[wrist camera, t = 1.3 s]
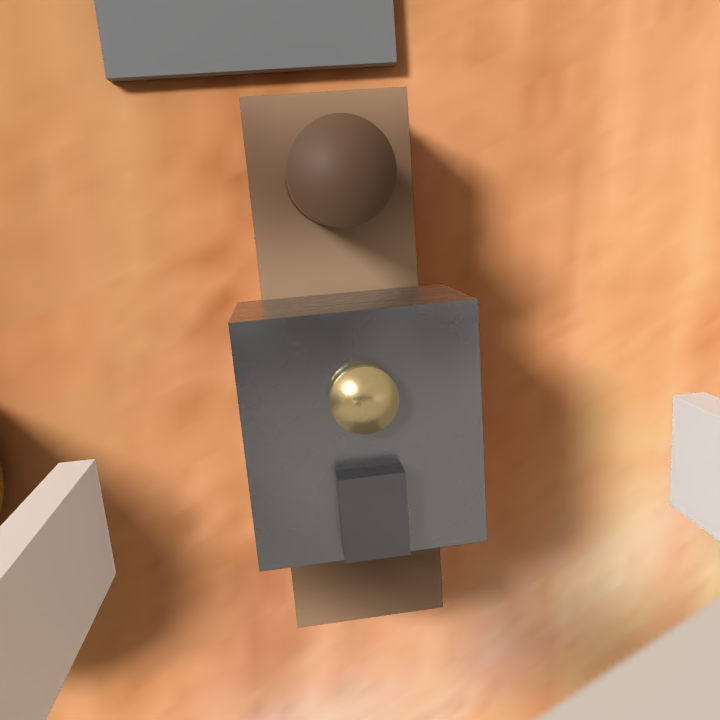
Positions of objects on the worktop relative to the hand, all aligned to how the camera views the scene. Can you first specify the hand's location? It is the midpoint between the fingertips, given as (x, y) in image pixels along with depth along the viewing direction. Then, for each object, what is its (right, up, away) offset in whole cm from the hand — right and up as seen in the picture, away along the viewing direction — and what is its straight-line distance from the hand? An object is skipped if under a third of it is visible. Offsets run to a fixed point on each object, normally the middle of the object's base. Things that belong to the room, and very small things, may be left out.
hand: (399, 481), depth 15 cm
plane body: (-2, +3, +11) cm, 12 cm away
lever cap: (-1, +1, +7) cm, 7 cm away
